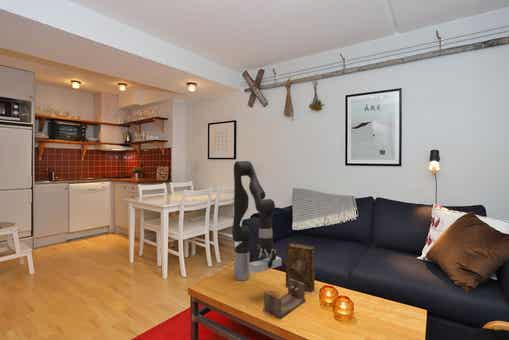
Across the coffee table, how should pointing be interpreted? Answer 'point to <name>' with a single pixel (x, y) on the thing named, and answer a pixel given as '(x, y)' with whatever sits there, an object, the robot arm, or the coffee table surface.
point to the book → (300, 264)
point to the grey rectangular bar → (264, 264)
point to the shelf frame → (285, 300)
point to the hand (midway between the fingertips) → (265, 265)
